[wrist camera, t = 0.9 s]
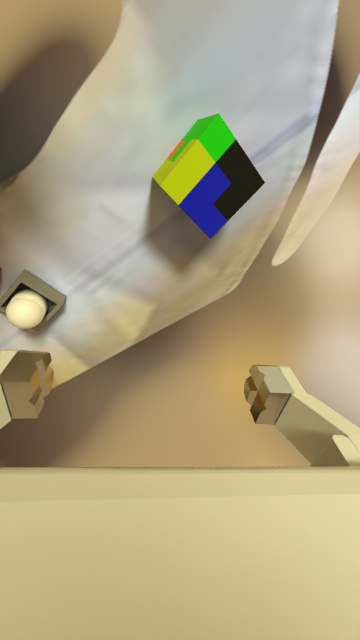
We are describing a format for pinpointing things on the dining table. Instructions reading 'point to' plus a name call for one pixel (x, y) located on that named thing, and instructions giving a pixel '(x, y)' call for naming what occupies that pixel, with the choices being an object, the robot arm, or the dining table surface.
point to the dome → (26, 309)
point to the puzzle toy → (209, 175)
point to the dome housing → (40, 288)
